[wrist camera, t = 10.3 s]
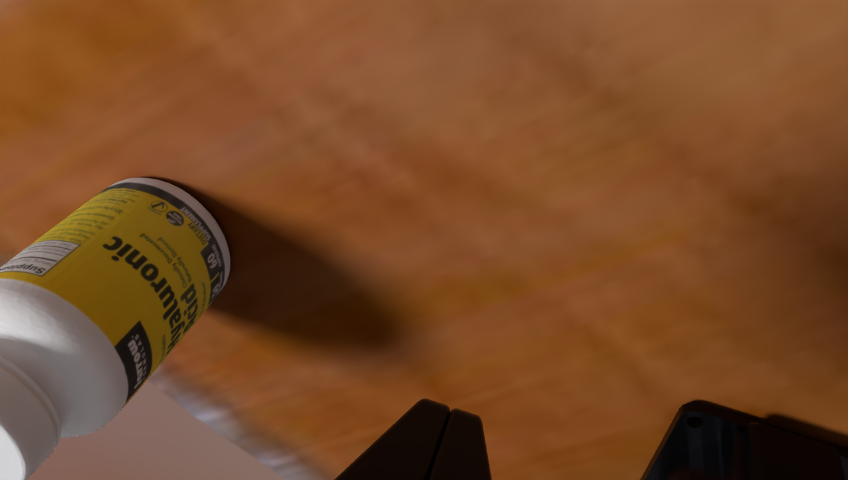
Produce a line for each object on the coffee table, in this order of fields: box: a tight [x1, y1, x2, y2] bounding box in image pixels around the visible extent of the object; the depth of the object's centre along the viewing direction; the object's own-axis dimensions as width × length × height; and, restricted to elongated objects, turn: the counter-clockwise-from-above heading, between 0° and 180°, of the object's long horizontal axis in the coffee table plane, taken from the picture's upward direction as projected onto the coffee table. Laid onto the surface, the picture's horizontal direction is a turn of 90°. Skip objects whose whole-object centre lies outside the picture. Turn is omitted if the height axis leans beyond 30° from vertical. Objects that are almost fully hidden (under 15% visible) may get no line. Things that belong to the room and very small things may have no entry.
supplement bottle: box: [0, 178, 230, 480], centre depth 22 cm, size 5×5×10 cm
